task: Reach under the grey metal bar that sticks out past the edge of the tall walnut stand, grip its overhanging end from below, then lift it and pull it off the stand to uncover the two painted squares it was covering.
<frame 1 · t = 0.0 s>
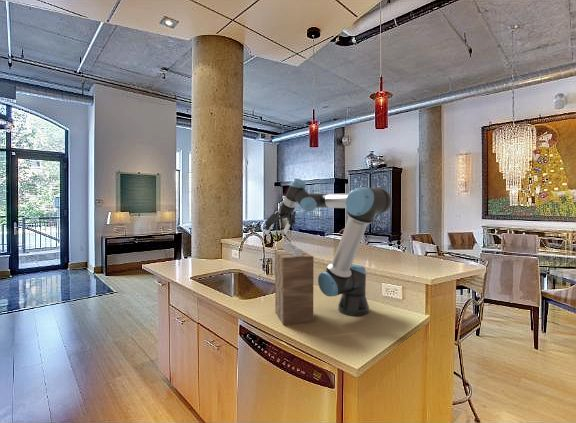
hand: (275, 233, 188), 36 cm above the worktop, tool tilted 35°, fingers open, 13 cm apart
metal bar: (290, 251, 154), point 30 cm above the worktop, touching walnut stand
walnut stand: (293, 317, 150), on the worktop
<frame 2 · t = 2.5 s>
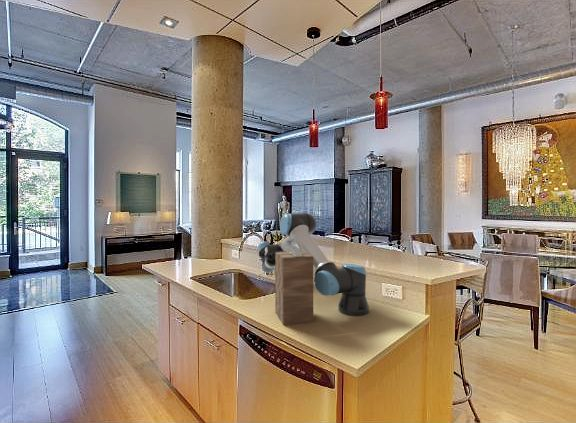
hand: (278, 248, 178), 28 cm above the worktop, tool pointing upward, fingers open, 13 cm apart
nothing on the worktop moved.
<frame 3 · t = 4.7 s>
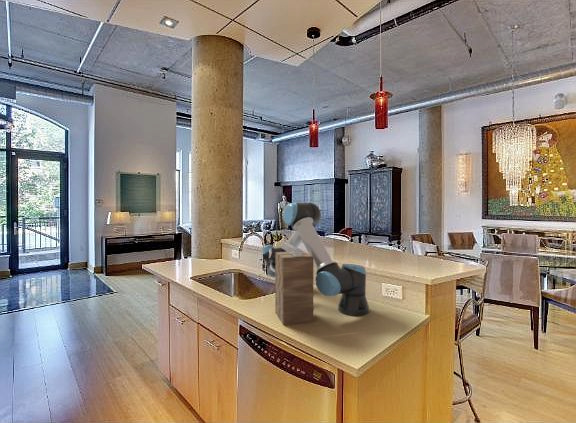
hand: (283, 249, 167), 29 cm above the worktop, tool pointing upward, fingers open, 13 cm apart
nothing on the worktop moved.
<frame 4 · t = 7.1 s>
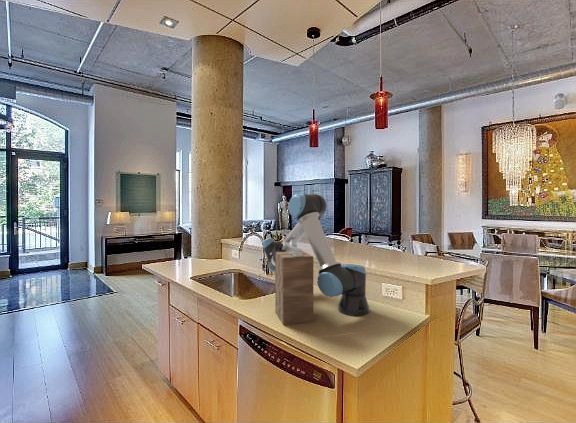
hand: (288, 242, 157), 35 cm above the worktop, tool pointing upward, fingers closed on metal bar, 3 cm apart
metal bar: (290, 251, 154), point 30 cm above the worktop, touching gripper, walnut stand
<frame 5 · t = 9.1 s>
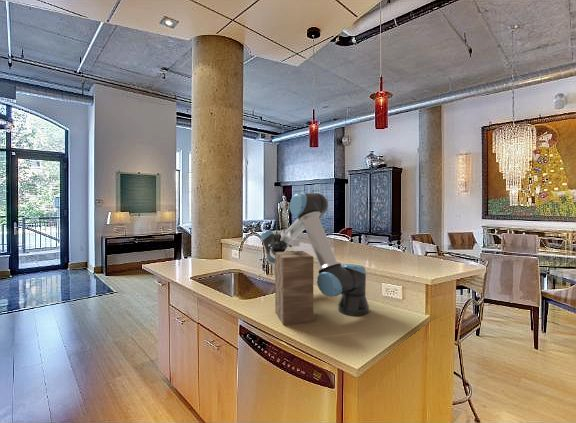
hand: (286, 233, 160), 39 cm above the worktop, tool pointing upward, fingers closed on metal bar, 3 cm apart
metal bar: (288, 242, 156), point 35 cm above the worktop, touching gripper
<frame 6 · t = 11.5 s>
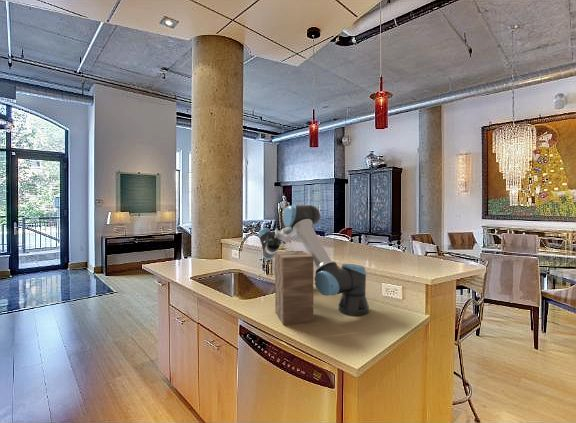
hand: (280, 230, 174), 39 cm above the worktop, tool pointing upward, fingers closed on metal bar, 3 cm apart
metal bar: (281, 239, 171), point 34 cm above the worktop, touching gripper
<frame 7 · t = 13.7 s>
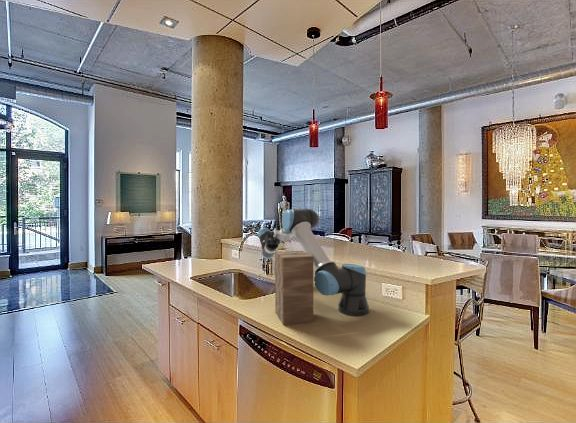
hand: (279, 230, 177), 38 cm above the worktop, tool pointing upward, fingers closed on metal bar, 3 cm apart
metal bar: (280, 238, 174), point 34 cm above the worktop, touching gripper
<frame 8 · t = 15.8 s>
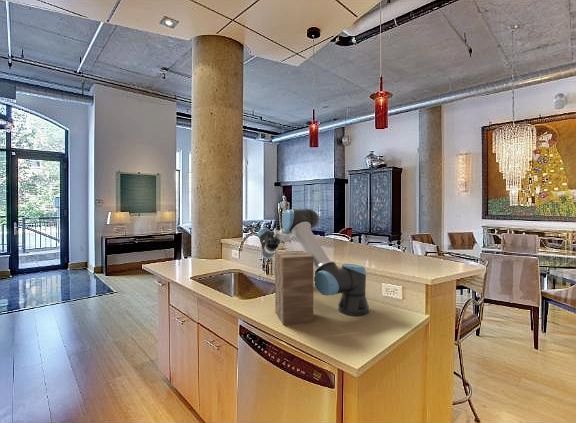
hand: (279, 230, 177), 38 cm above the worktop, tool pointing upward, fingers closed on metal bar, 3 cm apart
metal bar: (280, 238, 174), point 34 cm above the worktop, touching gripper
at the end: the gripper is holding metal bar; metal bar point 34.2 cm above the worktop; metal bar moved 21.4 cm from its start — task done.
